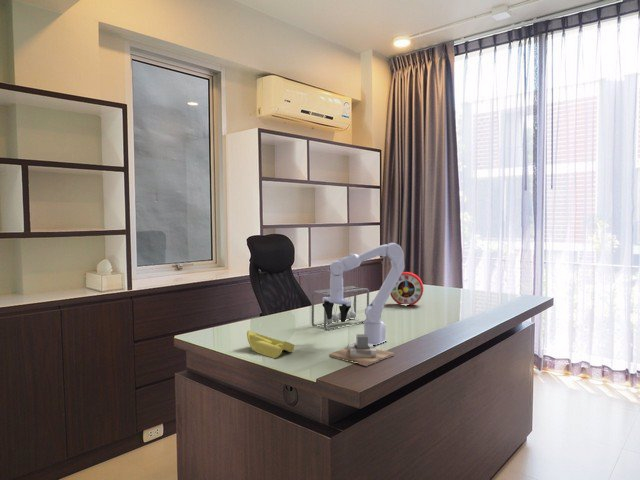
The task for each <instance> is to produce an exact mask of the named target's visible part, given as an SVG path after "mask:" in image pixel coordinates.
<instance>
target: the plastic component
mask: <svg viewBox="0 0 640 480" xmlns="http://www.w3.org/2000/svg"><path fill="white" fill-rule="evenodd" d="M246 337H247V341H248V345H249V346H250V348H251V349H252V350H253V351H254V352H255V353H257V354H260V355H263V356H266V357H269V358H273V359H277V358H279V357H280V356H281V355H282V352H283V351H284V352H288V353H293V351H294V348H295V346H296V345H295V344H293V343H292V342H289V341H282V340H279V339H275V338H272V337H268V336H266V335H264V334H259V333H256V332H254V331H252V330H247V332H246Z"/></svg>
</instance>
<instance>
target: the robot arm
mask: <svg viewBox="0 0 640 480" xmlns="http://www.w3.org/2000/svg"><path fill="white" fill-rule="evenodd" d="M379 256H380V257H388V259H389V261H390V264H391V269H390V270H389V272H388V273H387V276H386V277H385V279H384V281H383V282H382V285H381V287H379V290H378V292H377V294H376V295H375V297H374V299H372V301H371V302H370V303H369V306H367V305H366V307H365V310H364V314H365V317H366V319H364V320H363V321H364V323H363V324H364V327H363V329H364V330H363V331H364V332H363V334H367V336H368V344H373V345H376V346H378V345H377V344H379V345H381V344H380V343H382V344H384V343H386V342H385V341H387V342H388V340H386V330H387V328H386V327H387V326H386V325H385V322H383V321H382V320H381V318H382V312H383V310H384V308H385V305H386V302H387V301H388V299H389V297H391V295H390V294H391V292H392V290H393V288H394V286H395V285H396V283H397V281H398V279H399V277H400V276H401V274H402V273H403V272H404V270H405V268H406V267H405V252H404V251H403V248H402V247H401V245H400V244H398V243H396V242H389V243H387V244H386V243H385V244H381V245H379V246H376V247H374V248H371V249H369V250H367V251H365V252H362V253H360V254H357V253H351V252H350V253H349V254H348V255H347V256H345V257H342V258H341V257H340V258H338V260H334V261H332V262H331V264H330V266H329V270H330V275H329V276H330V277H329V289H330V291H329V293H330V296H327V297H325V296H323V297H322V299H321V300H322V301H321V302H322V307H323V308H324V309H325V311H326V316H327V319H332V315H333V310H334V306H335V305H339V304H340V305H339V306H338V308H339V313H340V314H341V322H340V323H345V322H346V321H345V320H346V316H347V313H348V312H350V310H351V309H352V301H351V300H349V299H348V300H347V299H343V298H344V294H343V287H344V277H343V276H344V275H343V274H344V272H348V271H350V270H353V269H356V268H358V267H360V266H361V263H363V262H365V261H368V260H370V259H373V258H376V257H379ZM324 309H323V310H324ZM383 342H384V343H383Z"/></svg>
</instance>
